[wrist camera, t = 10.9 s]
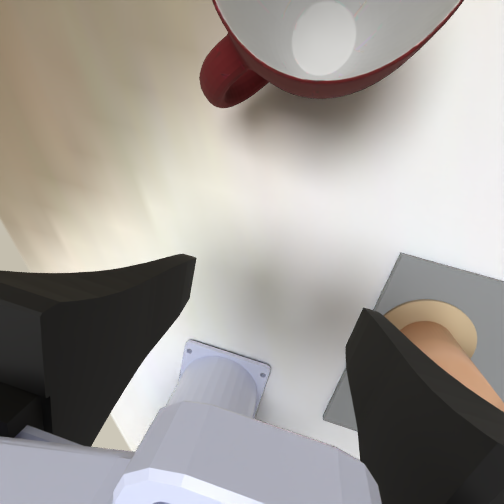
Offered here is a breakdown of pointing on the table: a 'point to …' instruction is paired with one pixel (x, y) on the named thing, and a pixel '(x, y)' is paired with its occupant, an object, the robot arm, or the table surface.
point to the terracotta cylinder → (450, 357)
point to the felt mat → (450, 291)
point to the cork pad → (437, 320)
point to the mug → (315, 45)
